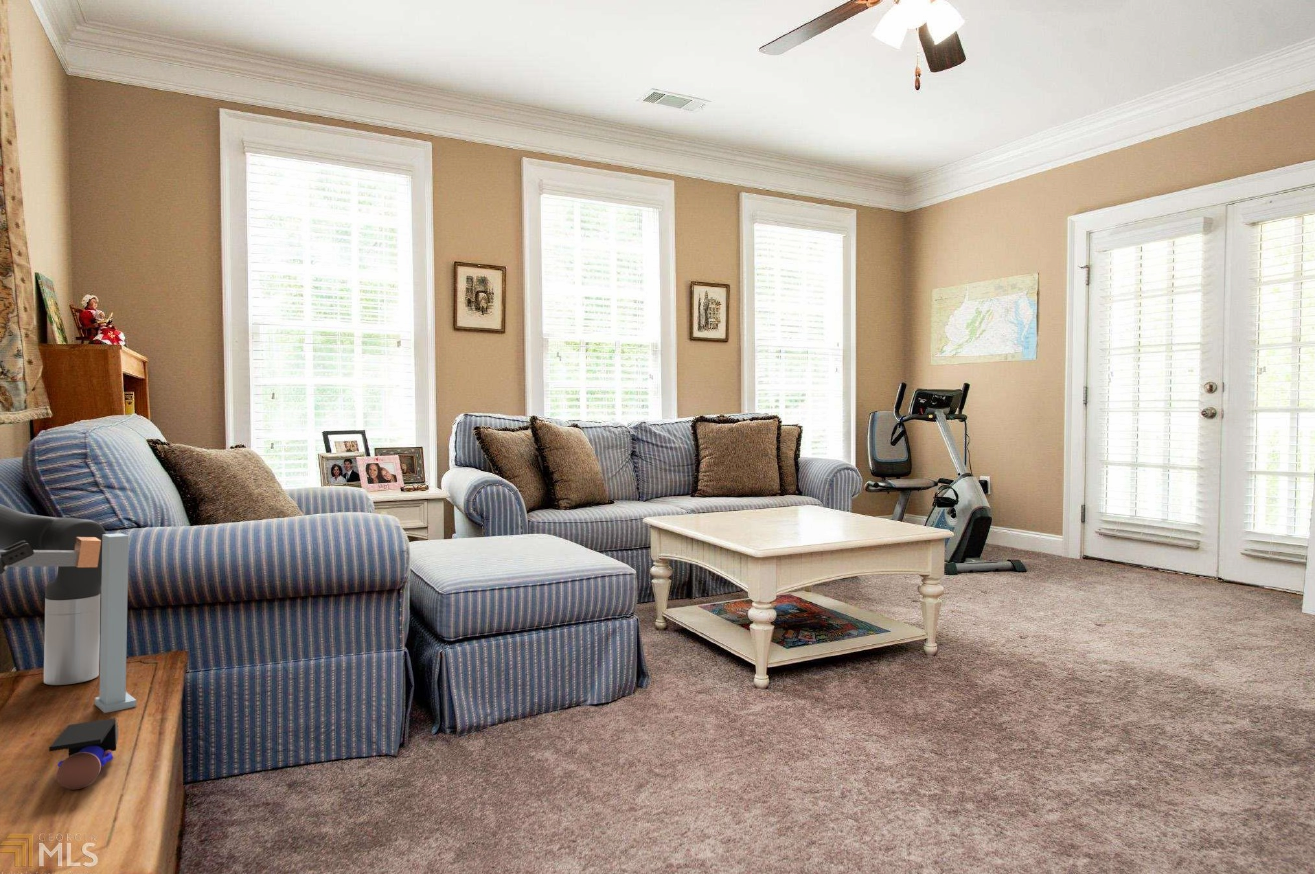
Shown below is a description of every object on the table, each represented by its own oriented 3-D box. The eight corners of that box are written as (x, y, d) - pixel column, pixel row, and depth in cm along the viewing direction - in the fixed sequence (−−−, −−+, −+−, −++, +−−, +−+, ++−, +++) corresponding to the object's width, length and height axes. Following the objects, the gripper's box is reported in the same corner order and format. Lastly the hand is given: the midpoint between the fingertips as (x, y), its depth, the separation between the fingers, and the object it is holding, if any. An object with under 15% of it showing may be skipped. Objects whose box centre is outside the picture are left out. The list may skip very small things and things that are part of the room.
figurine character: (68, 769, 123) (44, 798, 109) (70, 718, 123) (47, 740, 110) (120, 762, 126) (103, 789, 112) (122, 712, 127) (105, 733, 113)
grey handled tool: (-17, 563, 129) (-13, 535, 129) (91, 563, 140) (95, 537, 140) (-14, 567, 126) (-10, 539, 126) (97, 567, 136) (101, 540, 137)
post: (94, 704, 148) (97, 534, 148) (125, 697, 152) (128, 532, 152) (104, 713, 143) (107, 537, 144) (136, 706, 147) (139, 535, 147)
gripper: (-114, 591, 114) (24, 532, 125) (-116, 575, 124) (12, 522, 135) (-85, 634, 117) (48, 572, 128) (-89, 615, 127) (35, 559, 138)
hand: (29, 546), depth 131 cm, fingers closed on grey handled tool, 2 cm apart
